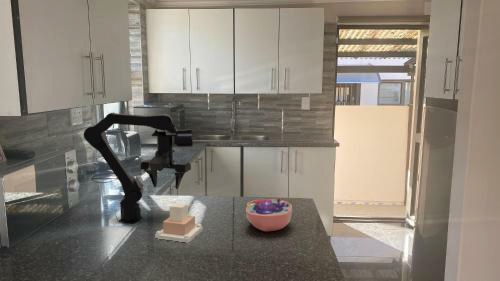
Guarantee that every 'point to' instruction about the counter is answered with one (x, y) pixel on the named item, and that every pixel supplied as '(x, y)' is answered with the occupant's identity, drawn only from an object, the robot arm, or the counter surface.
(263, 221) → the cell model
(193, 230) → the base plate
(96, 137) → the robot arm
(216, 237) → the counter surface
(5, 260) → the counter surface
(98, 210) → the counter surface
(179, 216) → the cream brick
